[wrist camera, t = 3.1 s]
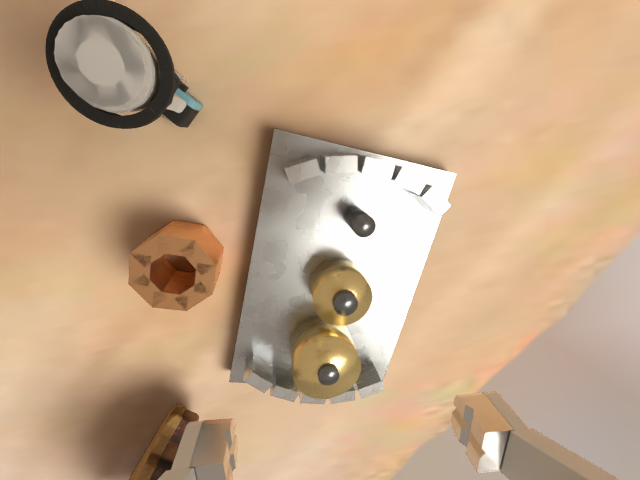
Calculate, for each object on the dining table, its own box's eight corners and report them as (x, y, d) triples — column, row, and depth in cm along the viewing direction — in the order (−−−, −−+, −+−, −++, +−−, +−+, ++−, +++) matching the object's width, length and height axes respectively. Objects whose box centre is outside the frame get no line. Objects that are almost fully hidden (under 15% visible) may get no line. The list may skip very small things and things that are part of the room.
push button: (97, 82, 22) (-32, 42, 12) (138, 18, 21) (34, -77, 12) (181, 145, 24) (125, 152, 15) (221, 89, 23) (190, 58, 14)
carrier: (230, 370, 31) (222, 423, 26) (274, 128, 25) (275, 126, 19) (374, 381, 35) (395, 429, 29) (447, 171, 28) (492, 181, 22)
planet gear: (146, 280, 27) (127, 304, 23) (151, 216, 25) (131, 230, 22) (217, 289, 28) (209, 313, 25) (226, 228, 27) (219, 244, 23)
